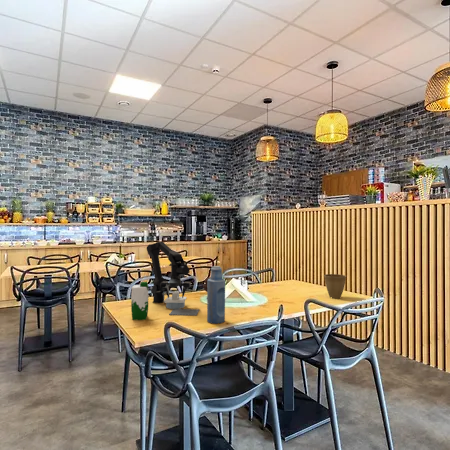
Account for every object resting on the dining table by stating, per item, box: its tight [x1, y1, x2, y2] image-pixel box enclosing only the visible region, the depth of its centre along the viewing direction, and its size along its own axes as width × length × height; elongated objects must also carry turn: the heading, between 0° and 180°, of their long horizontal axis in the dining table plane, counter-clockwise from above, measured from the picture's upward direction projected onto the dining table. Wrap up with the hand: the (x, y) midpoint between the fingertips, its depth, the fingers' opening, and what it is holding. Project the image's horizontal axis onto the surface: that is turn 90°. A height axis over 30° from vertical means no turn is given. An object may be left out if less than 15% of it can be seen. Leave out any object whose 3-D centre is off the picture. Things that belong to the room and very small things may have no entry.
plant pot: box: [323, 273, 347, 299], centre depth 241 cm, size 15×15×16 cm
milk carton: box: [130, 281, 149, 321], centre depth 187 cm, size 9×9×20 cm
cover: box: [163, 290, 187, 304], centre depth 212 cm, size 12×12×5 cm
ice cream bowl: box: [202, 276, 211, 293], centre depth 235 cm, size 11×11×15 cm
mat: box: [169, 308, 200, 317], centre depth 199 cm, size 16×12×1 cm
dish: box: [165, 300, 186, 310], centre depth 212 cm, size 11×11×4 cm
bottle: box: [206, 265, 226, 325], centre depth 182 cm, size 10×10×30 cm
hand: (175, 298), depth 212 cm, fingers open, 9 cm apart
